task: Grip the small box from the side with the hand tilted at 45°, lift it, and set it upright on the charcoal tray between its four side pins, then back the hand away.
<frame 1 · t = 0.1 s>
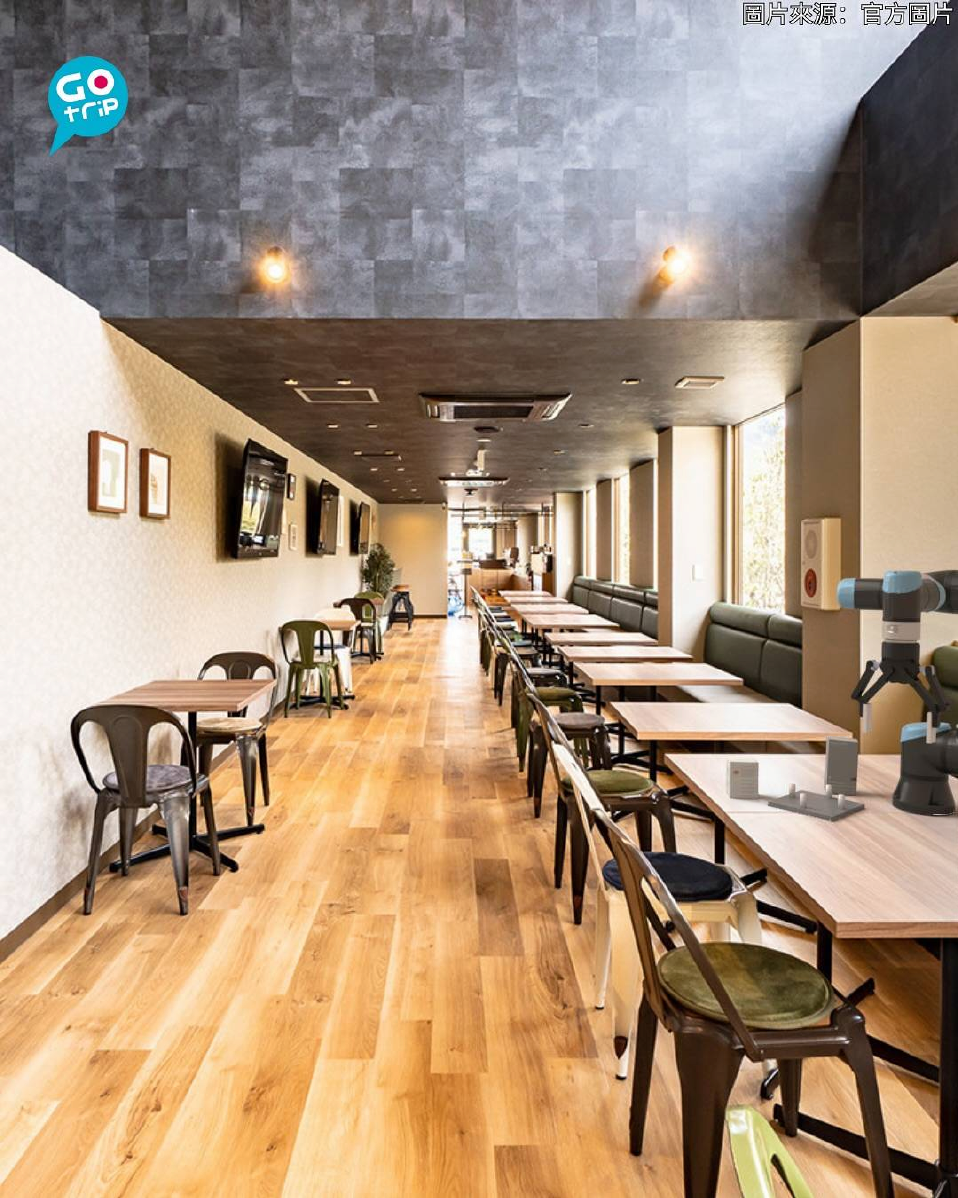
hand: (898, 737, 183), 28 cm above the table, tool pointing down, fingers open, 13 cm apart
small box: (741, 796, 237), on the table
pin tray: (816, 807, 226), on the table
skincare box: (840, 792, 241), on the table
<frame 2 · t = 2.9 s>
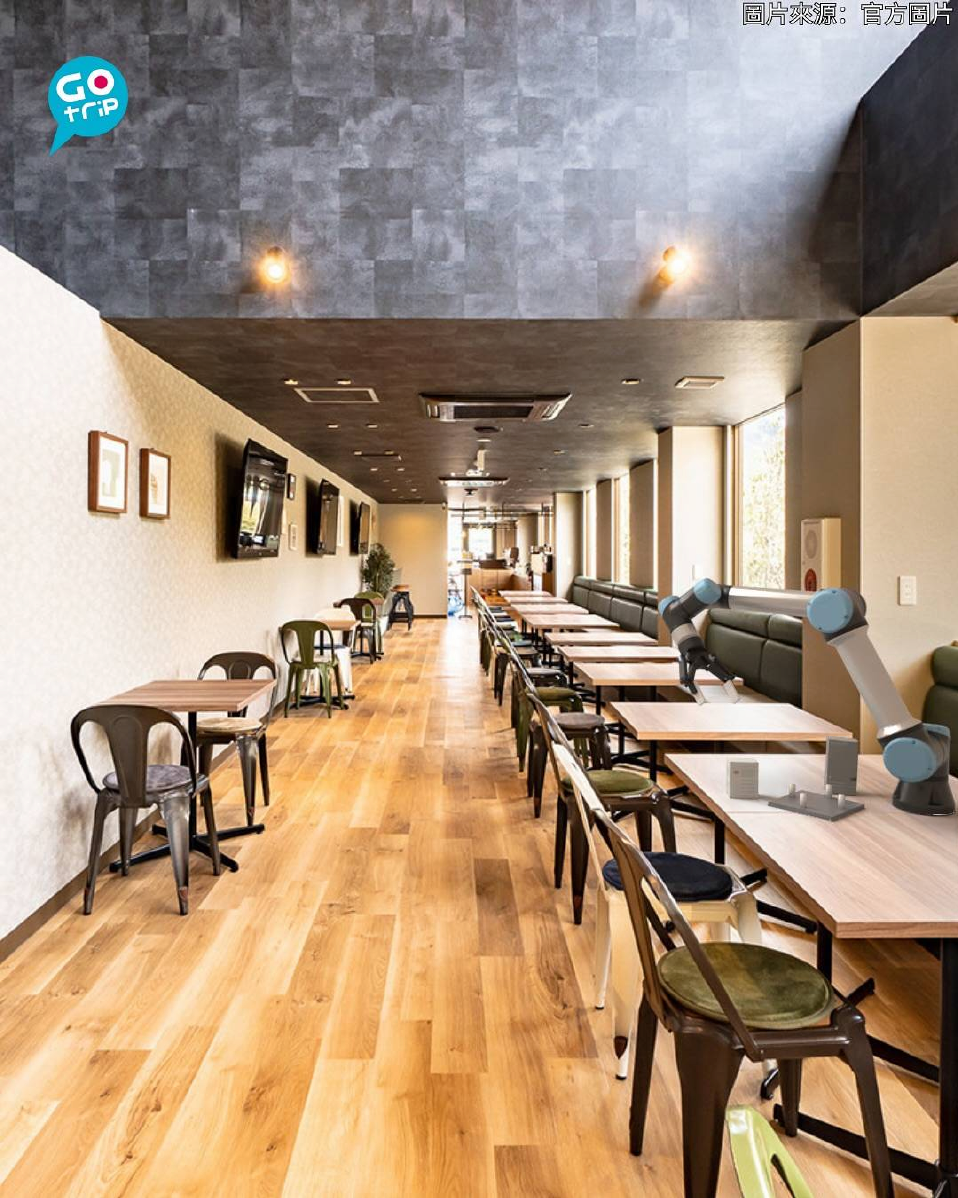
hand: (720, 702, 240), 26 cm above the table, tool tilted 40°, fingers open, 13 cm apart
nothing on the table moved.
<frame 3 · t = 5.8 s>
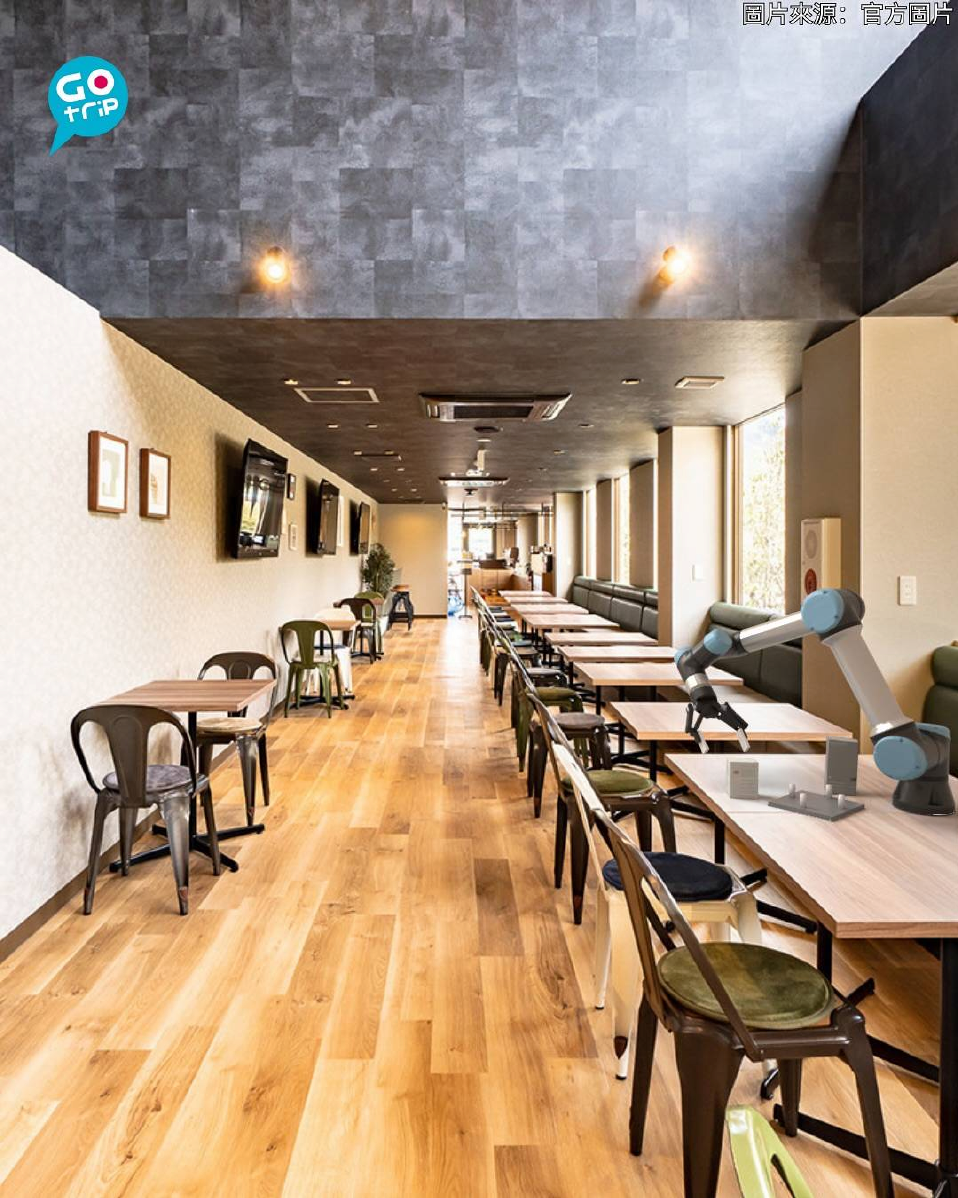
hand: (726, 750, 243), 11 cm above the table, tool tilted 45°, fingers open, 13 cm apart
nothing on the table moved.
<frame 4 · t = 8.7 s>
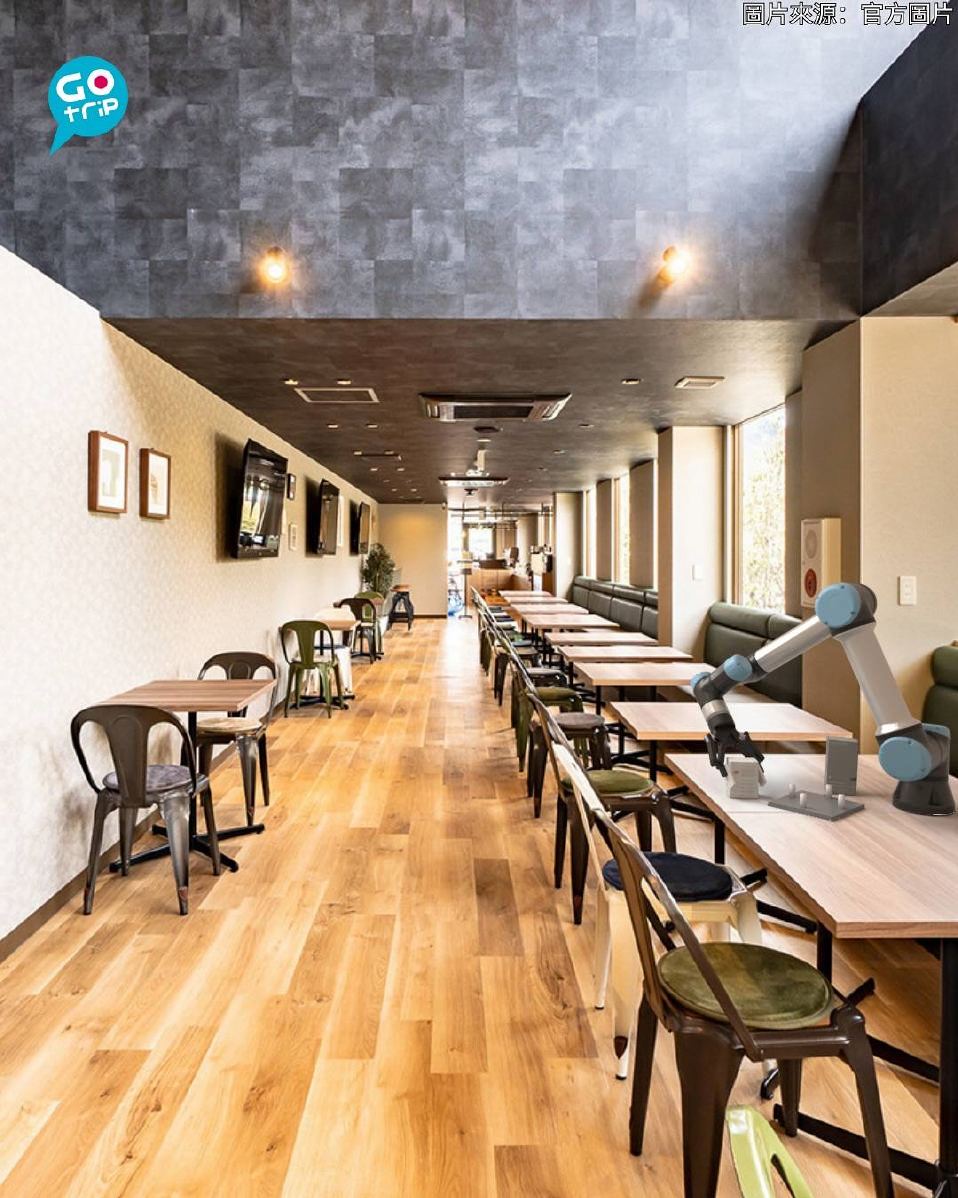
hand: (748, 785, 233), 4 cm above the table, tool tilted 45°, fingers closed on small box, 9 cm apart
small box: (741, 796, 237), on the table, touching gripper
everything else where it was.
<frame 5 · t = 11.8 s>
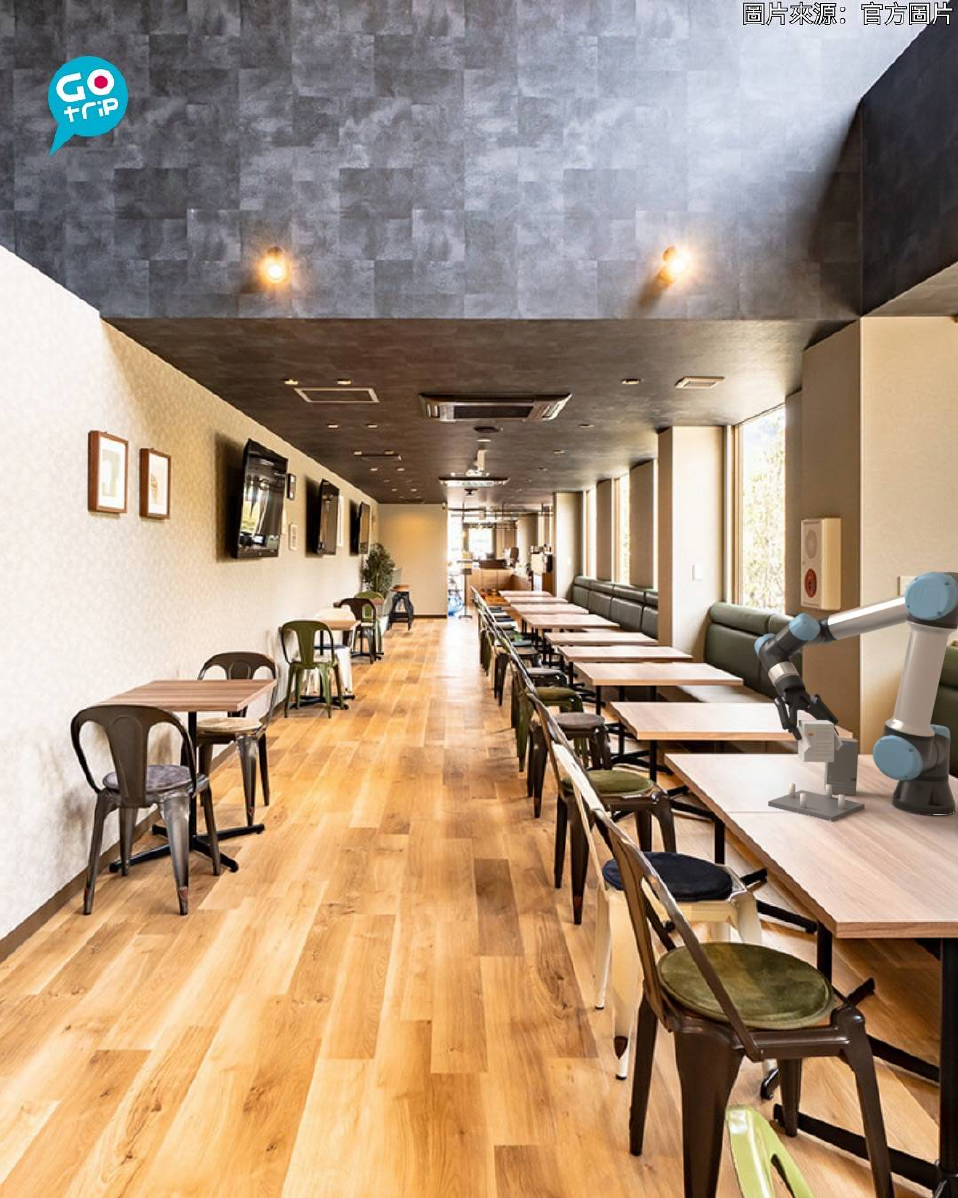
hand: (823, 748, 222), 17 cm above the table, tool tilted 45°, fingers closed on small box, 9 cm apart
small box: (815, 760, 226), point 13 cm above the table, touching gripper
everything else where it was.
when the fingers open (7 cm above the table, at t = 15.2 s): small box drops 2 cm, resting on pin tray.
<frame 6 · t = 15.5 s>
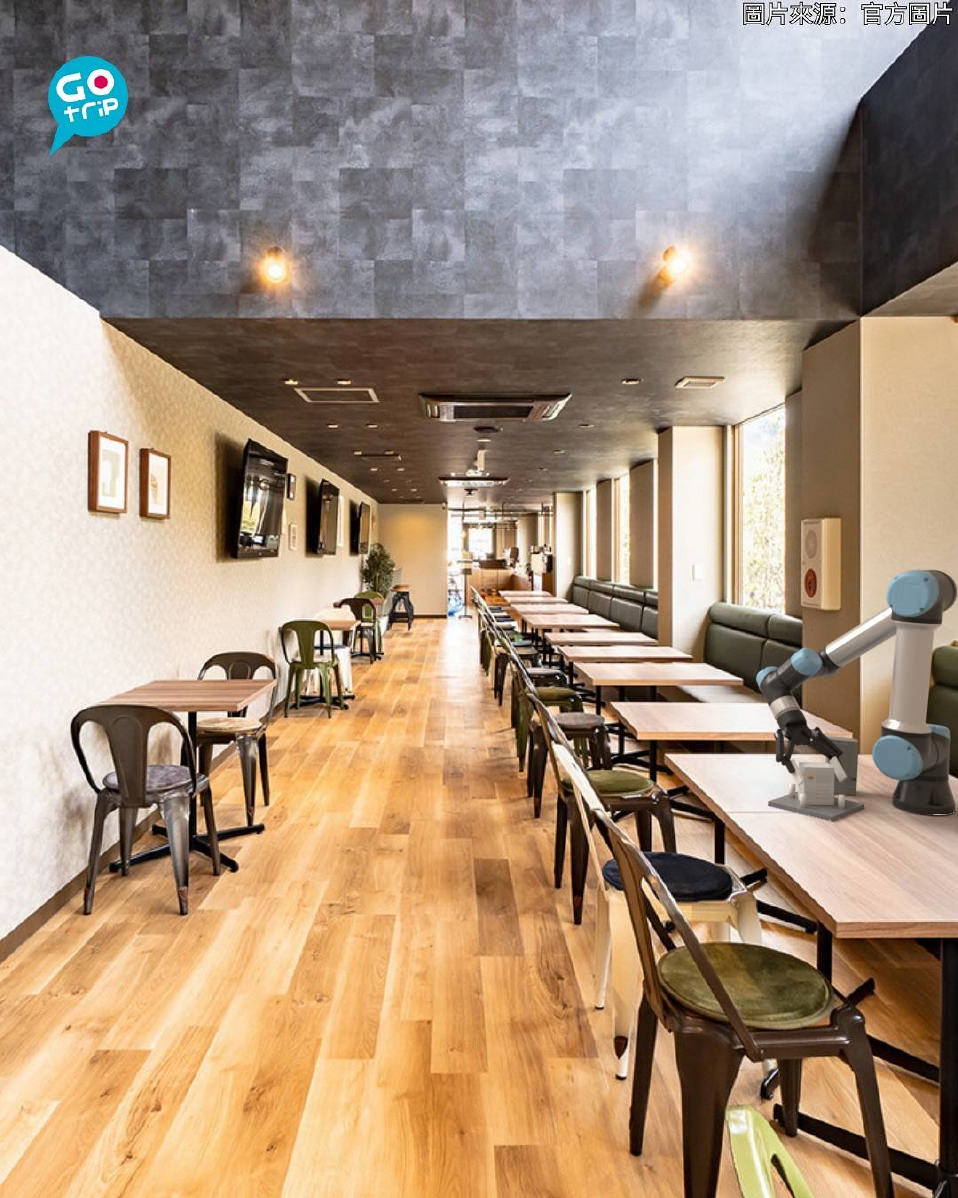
hand: (822, 781, 223), 8 cm above the table, tool tilted 45°, fingers open, 13 cm apart
small box: (815, 803, 226), point 1 cm above the table, touching pin tray
everything else where it was.
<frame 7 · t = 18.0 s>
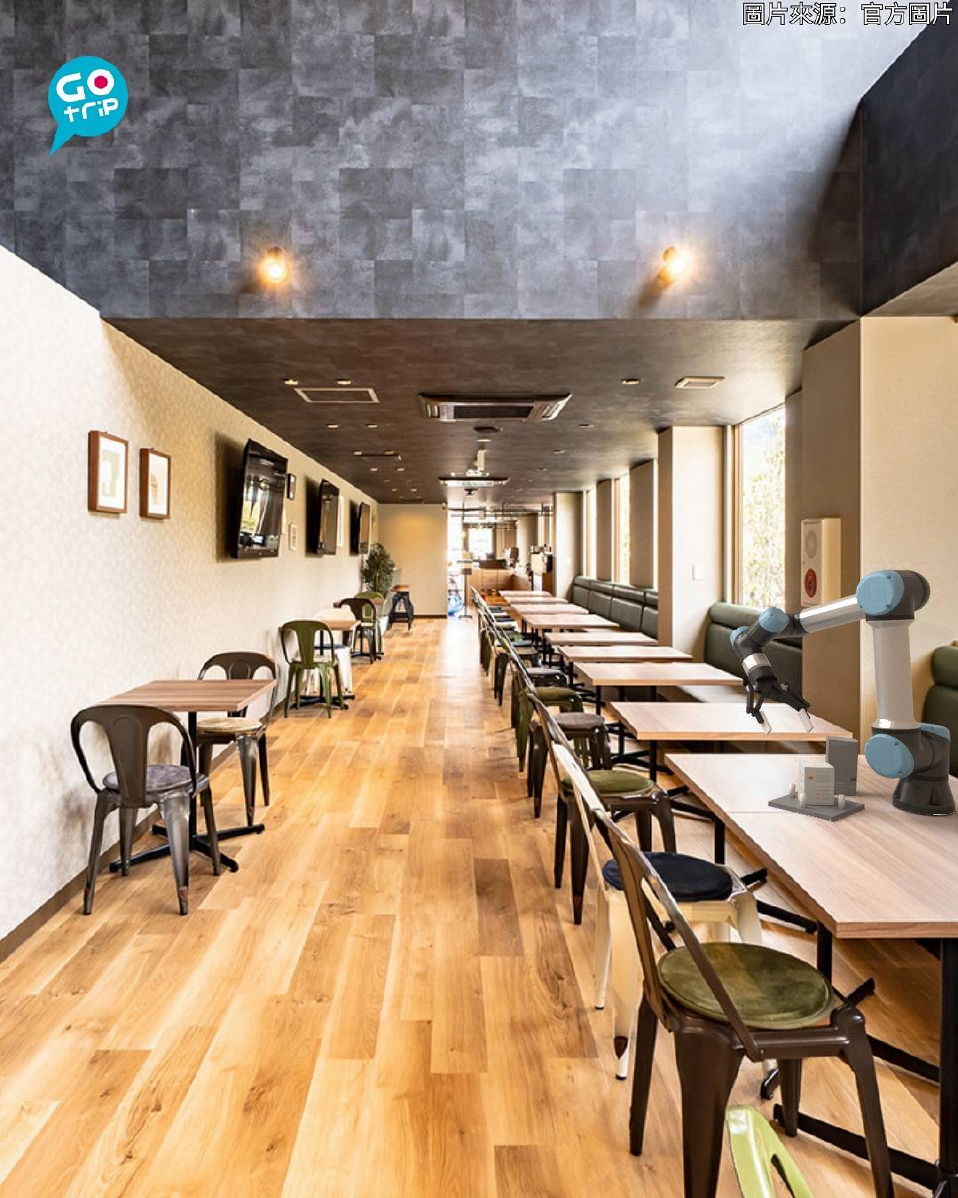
hand: (790, 731, 236), 18 cm above the table, tool tilted 45°, fingers open, 13 cm apart
nothing on the table moved.
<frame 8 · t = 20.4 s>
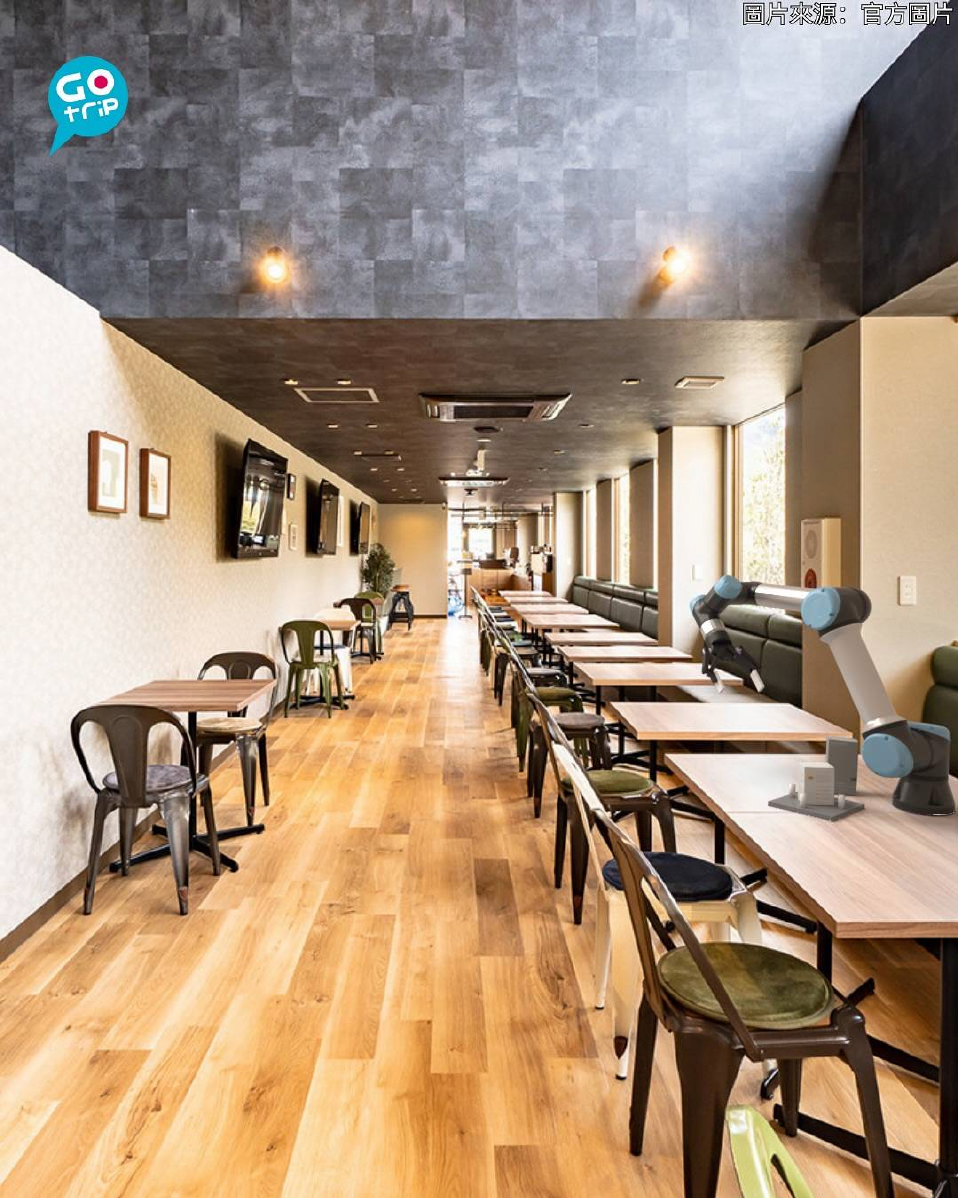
hand: (742, 690, 253), 28 cm above the table, tool tilted 45°, fingers open, 13 cm apart
nothing on the table moved.
at the end: small box 0.1 cm off-centre on the pin tray, point 1.0 cm above the pin tray's base; small box tilted 0°; the gripper is holding nothing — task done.
